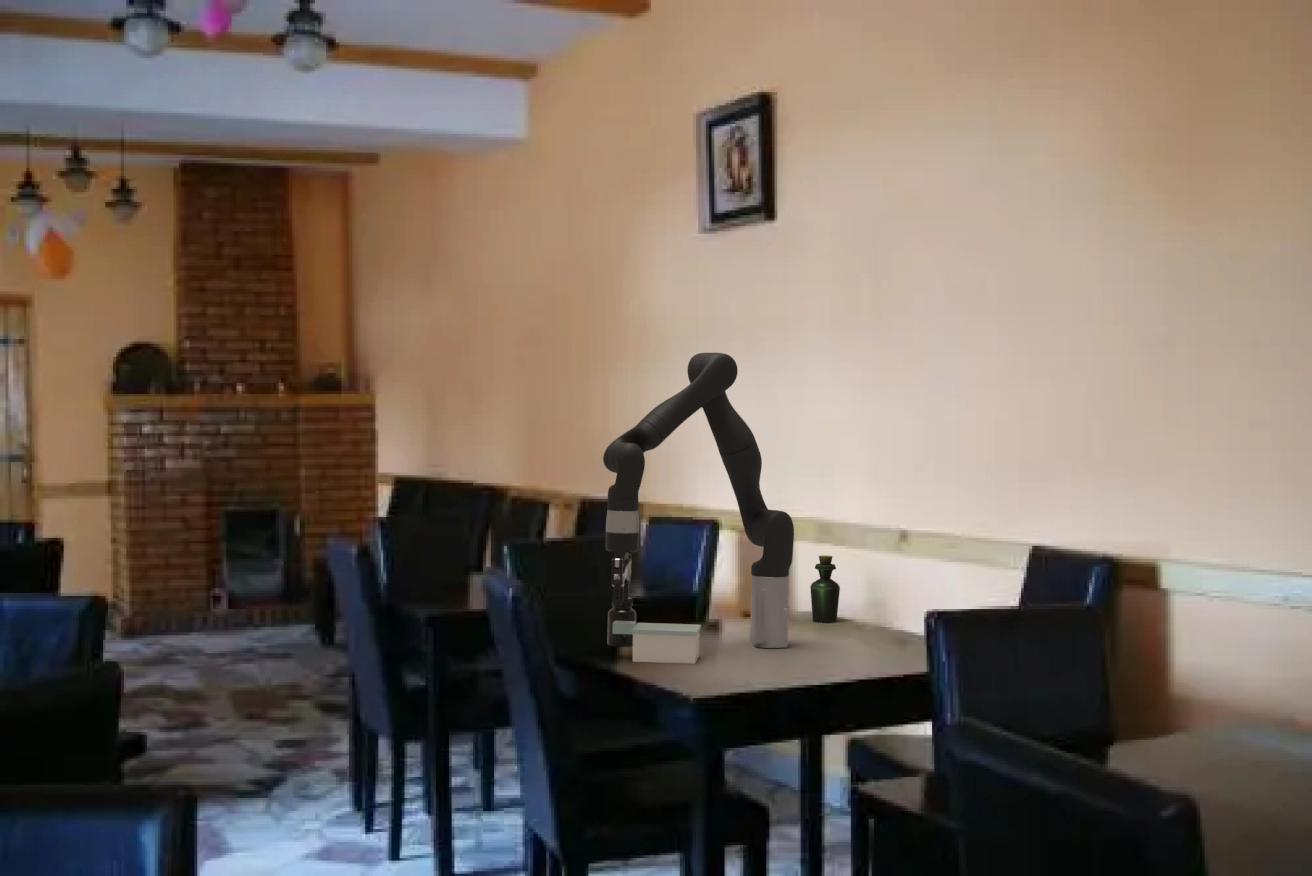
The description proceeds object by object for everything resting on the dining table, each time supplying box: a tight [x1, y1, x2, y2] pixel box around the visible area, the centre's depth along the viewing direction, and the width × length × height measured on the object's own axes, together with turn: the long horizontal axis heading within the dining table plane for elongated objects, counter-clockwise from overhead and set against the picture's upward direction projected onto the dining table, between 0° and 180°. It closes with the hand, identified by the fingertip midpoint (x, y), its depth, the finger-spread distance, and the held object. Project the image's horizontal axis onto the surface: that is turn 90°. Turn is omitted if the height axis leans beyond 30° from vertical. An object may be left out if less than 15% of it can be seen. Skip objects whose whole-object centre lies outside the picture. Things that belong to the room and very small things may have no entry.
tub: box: [632, 632, 700, 665], centre depth 314 cm, size 14×10×7 cm
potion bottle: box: [809, 554, 841, 624], centre depth 381 cm, size 8×8×18 cm
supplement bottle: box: [606, 597, 637, 648], centre depth 333 cm, size 7×7×12 cm
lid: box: [612, 620, 702, 636], centre depth 314 cm, size 19×11×3 cm, turn 83°
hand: (620, 601), depth 315 cm, fingers open, 8 cm apart
